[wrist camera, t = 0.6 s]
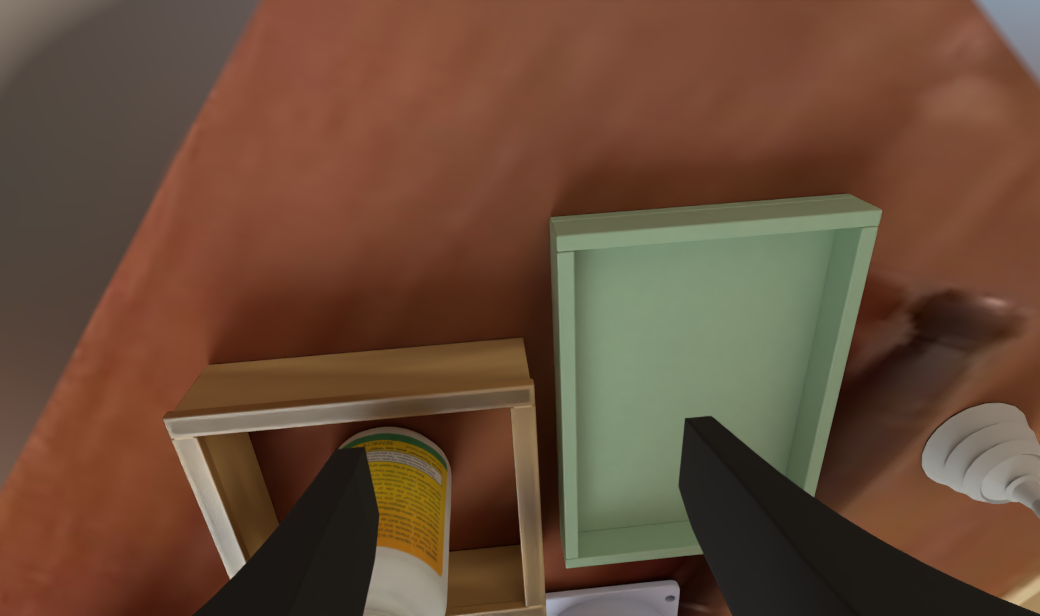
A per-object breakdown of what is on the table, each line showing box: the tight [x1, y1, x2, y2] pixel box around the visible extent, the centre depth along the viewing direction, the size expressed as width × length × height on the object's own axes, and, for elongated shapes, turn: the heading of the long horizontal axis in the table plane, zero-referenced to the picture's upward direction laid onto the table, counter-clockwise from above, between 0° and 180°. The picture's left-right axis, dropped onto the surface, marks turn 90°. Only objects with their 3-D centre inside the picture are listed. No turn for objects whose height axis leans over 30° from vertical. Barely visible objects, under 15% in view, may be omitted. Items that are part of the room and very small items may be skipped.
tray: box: [549, 194, 882, 568], centre depth 24 cm, size 16×11×2 cm
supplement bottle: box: [338, 427, 452, 616], centre depth 22 cm, size 5×5×10 cm
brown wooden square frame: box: [163, 338, 547, 616], centre depth 24 cm, size 13×13×4 cm
